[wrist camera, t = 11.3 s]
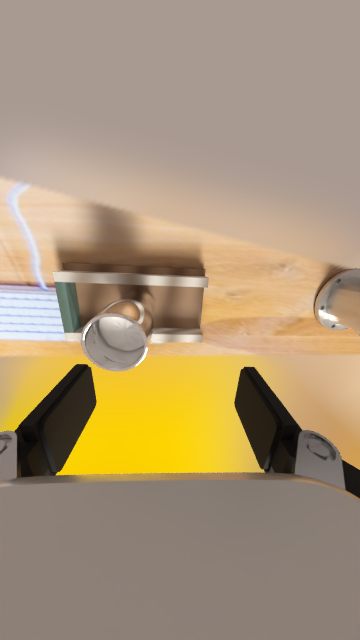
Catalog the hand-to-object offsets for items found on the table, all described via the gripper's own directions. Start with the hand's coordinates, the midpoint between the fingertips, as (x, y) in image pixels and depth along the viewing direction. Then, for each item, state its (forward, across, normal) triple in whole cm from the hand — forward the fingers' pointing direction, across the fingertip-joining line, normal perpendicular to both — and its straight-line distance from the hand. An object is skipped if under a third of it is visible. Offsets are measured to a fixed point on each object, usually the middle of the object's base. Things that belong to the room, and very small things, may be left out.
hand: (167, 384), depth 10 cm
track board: (+23, +6, +1) cm, 24 cm away
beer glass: (+22, +6, +1) cm, 23 cm away
